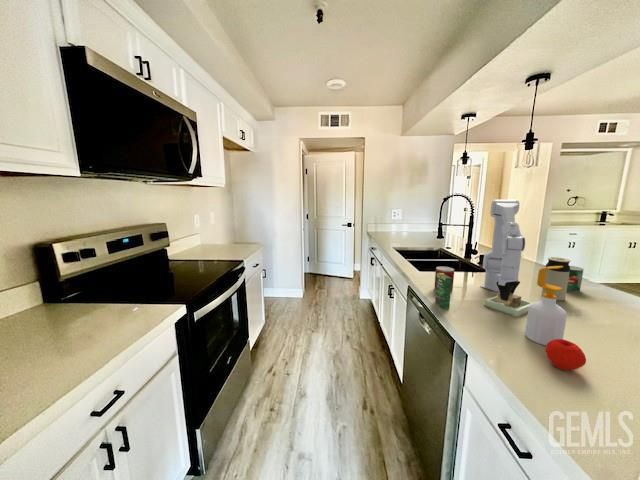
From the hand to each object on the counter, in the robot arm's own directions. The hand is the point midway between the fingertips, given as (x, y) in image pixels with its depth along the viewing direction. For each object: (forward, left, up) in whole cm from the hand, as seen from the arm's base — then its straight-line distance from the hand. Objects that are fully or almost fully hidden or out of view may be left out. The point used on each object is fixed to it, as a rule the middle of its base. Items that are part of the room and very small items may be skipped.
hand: (506, 298), depth 105 cm
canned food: (+3, -26, -5) cm, 27 cm away
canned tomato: (-52, +3, -5) cm, 52 cm away
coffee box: (+19, -15, -5) cm, 25 cm away
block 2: (-5, 0, -4) cm, 7 cm away
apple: (+26, +27, -5) cm, 38 cm away
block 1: (0, 0, -2) cm, 2 cm away
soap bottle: (+14, +18, -5) cm, 23 cm away
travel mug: (-32, +4, -5) cm, 33 cm away
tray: (-3, 0, -4) cm, 5 cm away
